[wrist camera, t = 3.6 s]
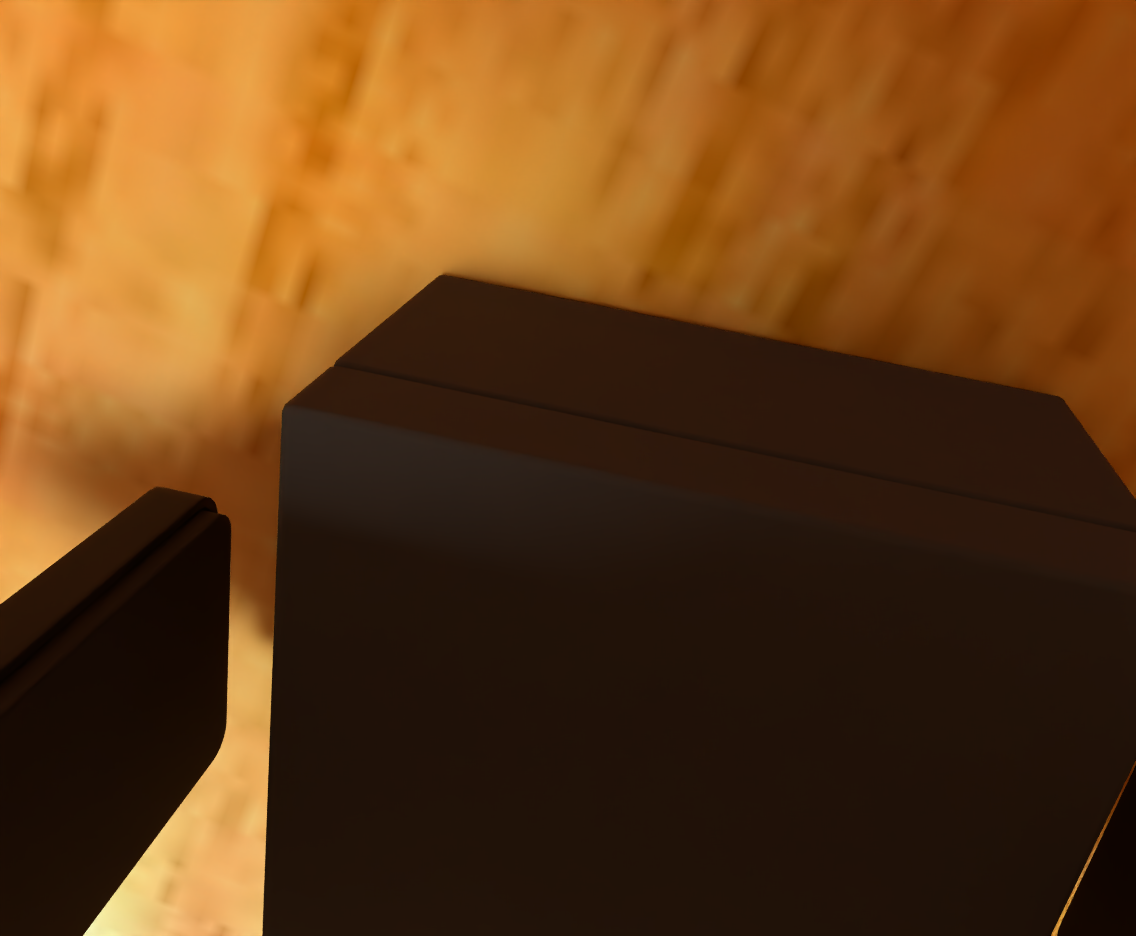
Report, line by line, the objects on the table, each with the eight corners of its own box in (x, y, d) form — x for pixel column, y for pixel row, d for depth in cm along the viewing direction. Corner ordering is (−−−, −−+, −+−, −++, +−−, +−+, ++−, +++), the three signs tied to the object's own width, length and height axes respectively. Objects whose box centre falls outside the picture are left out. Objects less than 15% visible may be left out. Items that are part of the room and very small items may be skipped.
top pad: (1063, 395, 10) (1217, 606, 7) (884, 871, 13) (927, 1201, 10) (439, 272, 11) (277, 404, 7) (390, 751, 14) (256, 1016, 10)
